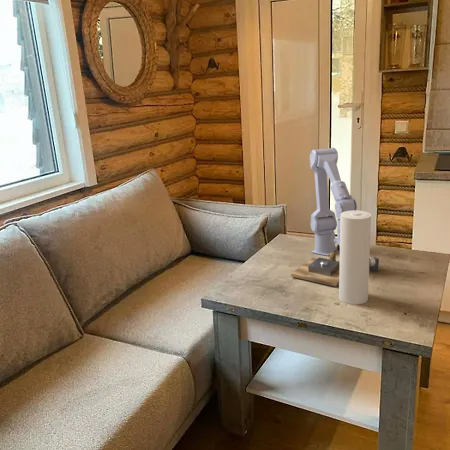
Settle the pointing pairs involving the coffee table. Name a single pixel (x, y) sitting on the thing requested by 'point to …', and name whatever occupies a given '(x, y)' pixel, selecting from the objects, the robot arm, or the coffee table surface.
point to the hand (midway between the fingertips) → (344, 262)
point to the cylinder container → (354, 256)
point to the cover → (324, 266)
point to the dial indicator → (373, 263)
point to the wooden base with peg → (304, 274)
